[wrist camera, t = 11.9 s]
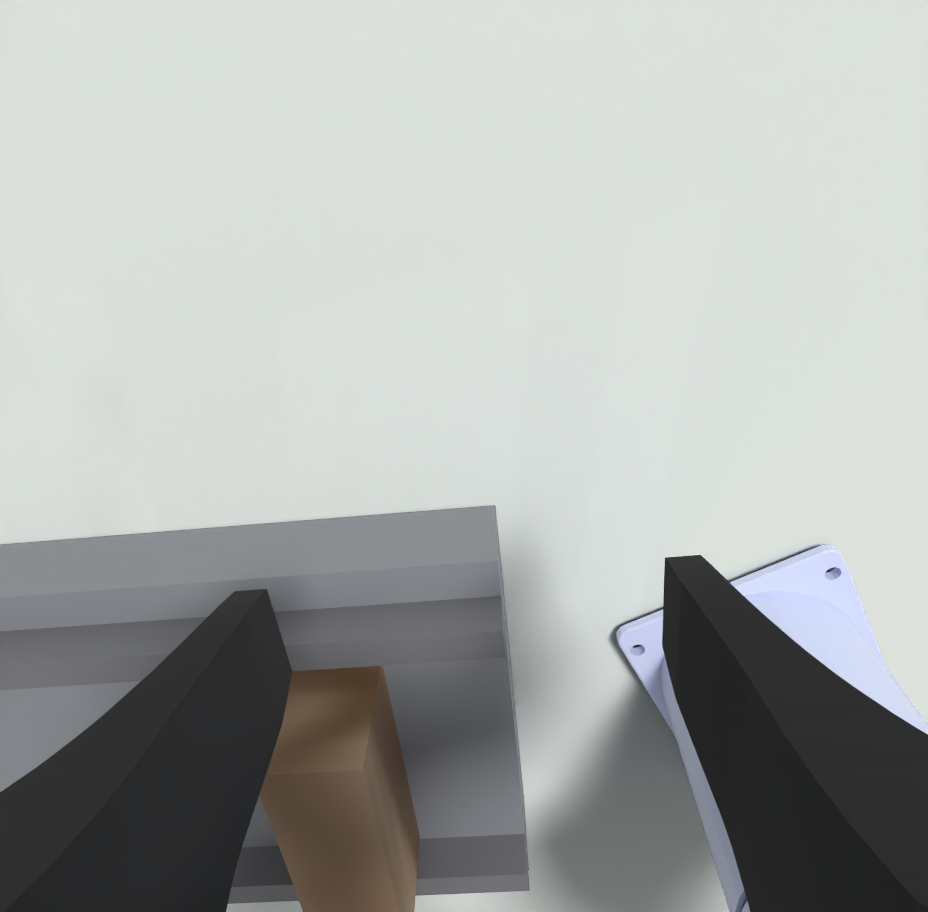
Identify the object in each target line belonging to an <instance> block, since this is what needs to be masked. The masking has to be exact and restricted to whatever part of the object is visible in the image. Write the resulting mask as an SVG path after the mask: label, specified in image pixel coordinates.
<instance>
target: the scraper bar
mask: <svg viewBox="0 0 928 912" xmlns="http://www.w3.org/2000/svg"><path fill="white" fill-rule="evenodd" d="M259 795H260V798H261V800H262V803H263V806H264V808H265V811H266V814H267V816H268V819H269V822H270V824H271V827H272V830H273V832H274V835H275V838H276V840H277V843H278V846H279V848H280V851H281V854H282V856H283V859H284V861H285V864H286V867H287V869H288V872H289V875H290V877H291V880H292V883H293V885H294V888H295V891H296V893H297V896H298V899H299V901H300V904H301V907H302V909H303V912H414V905H415V892H416V879H417V866H418V853H419V840H420V834H419V829H418V825H417V820H416V816H415V811H414V806H413V802H412V797H411V793H410V788H409V783H408V779H407V774H406V770H405V765H404V761H403V756H402V751H401V747H400V742H399V738H398V733H397V728H396V724H395V719H394V715H393V710H392V705H391V701H390V696H389V692H388V687H387V682H386V678H385V673H384V669H383V666H368V667H352V668H337V669H321V670H306V671H292V675H291V681H290V686H289V692H288V698H287V703H286V708H285V713H284V718H283V723H282V726H281V729H280V733H279V736H278V739H277V742H276V745H275V748H274V751H273V754H272V758H271V761H270V764H269V767H268V770H267V773H266V776H265V779H264V782H263V785H262V788H261V791H260V794H259Z"/></svg>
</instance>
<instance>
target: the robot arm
mask: <svg viewBox="0 0 928 912" xmlns="http://www.w3.org/2000/svg"><path fill="white" fill-rule="evenodd" d="M833 567H835V568H834V570H832V571H831V572H827V573H826V571H827V570H828V569H830V568H833ZM616 637H617V641H618V644H619V646H620V648H621V649H622V651H623V653H624V654H625V656H626V658H627V659H628V661H629V662H630V664H631V666H632V667H633V669H634V670H635V672H636V674H637V675H638V677H639V679H640V680H641V682H642V683H643V685H644V687H645V688H646V690H647V691H648V693H649V695H650V696H651V698H652V699H653V701H654V703H655V704H656V706H657V708H658V709H659V711H660V712H661V714H662V716H663V717H664V719H665V720H666V722H667V724H668V725H669V727H670V728H671V730H672V732H673V733H674V735H675V737H676V739H677V743H678V746H679V749H680V752H681V756H682V759H683V762H684V765H685V769H686V772H687V775H688V778H689V781H690V785H691V788H692V791H693V794H694V798H695V801H696V804H697V807H698V811H699V814H700V817H701V820H702V823H703V827H704V830H705V833H706V836H707V840H708V843H709V846H710V849H711V853H712V856H713V859H714V862H715V865H716V869H717V872H718V875H719V878H720V882H721V885H722V888H723V891H724V895H725V898H726V901H727V904H728V907H729V911H730V912H928V724H927V723H926V722H925V720H924V719H923V717H922V716H921V715H920V713H919V712H918V710H917V709H916V708H915V706H914V705H913V703H912V702H911V701H910V699H909V698H908V696H907V695H906V694H905V692H904V691H903V689H902V688H901V687H900V685H899V684H898V682H897V681H896V680H895V678H894V677H893V675H892V674H891V673H890V671H889V670H888V668H887V667H886V664H885V662H884V659H883V657H882V654H881V651H880V649H879V646H878V644H877V641H876V639H875V636H874V634H873V631H872V628H871V626H870V623H869V621H868V618H867V616H866V613H865V610H864V608H863V605H862V603H861V600H860V598H859V595H858V593H857V590H856V587H855V585H854V582H853V580H852V577H851V575H850V572H849V569H848V567H847V564H846V562H845V559H844V557H843V555H842V554H841V552H840V551H839V550H838V549H837V547H835V546H833V545H822V546H818V547H816V548H813V549H811V550H809V551H806V552H804V553H801V554H799V555H796V556H794V557H791V558H789V559H786V560H784V561H781V562H779V563H776V564H774V565H771V566H769V567H766V568H764V569H761V570H759V571H756V572H754V573H752V574H749V575H747V576H744V577H742V578H739V579H737V580H734V581H732V582H728V581H727V580H726V579H725V578H724V577H723V576H722V575H721V574H720V573H719V572H718V571H717V570H716V569H715V568H714V567H713V566H712V565H711V564H710V563H709V562H708V561H707V560H705V559H704V558H703V557H702V556H701V555H695V556H682V557H669V558H665V575H664V604H663V609H662V610H660V611H657V612H655V613H652V614H650V615H647V616H645V617H642V618H640V619H638V620H635V621H633V622H630V623H628V624H625V625H623V626H622V627H620V628H619V629H618V631H617V633H616ZM634 645H641V646H639V647H637V648H633V646H634ZM291 675H292V669H291V665H290V662H289V659H288V656H287V652H286V649H285V646H284V643H283V640H282V636H281V633H280V630H279V627H278V623H277V620H276V617H275V614H274V610H273V607H272V604H271V601H270V597H269V594H268V591H267V589H257V590H244V591H234V592H233V593H232V594H231V595H230V596H229V597H228V598H227V599H226V600H224V601H223V602H222V603H221V604H220V605H219V606H218V607H217V608H216V609H215V610H214V611H213V612H212V613H211V614H210V615H209V616H208V617H207V618H206V619H205V620H204V621H203V622H202V623H201V624H200V625H199V626H198V627H197V628H196V629H195V630H194V631H193V632H192V633H191V634H190V635H189V636H188V637H187V638H186V639H185V640H184V641H183V642H182V643H181V644H180V645H179V646H178V647H177V648H176V649H175V650H173V651H172V652H171V653H170V654H169V655H168V656H167V657H166V658H165V659H164V660H163V661H162V662H161V663H160V664H159V665H158V666H157V667H156V668H155V669H154V670H153V671H152V672H151V673H150V674H148V675H147V676H146V677H145V678H144V679H143V680H142V681H141V682H139V683H138V684H137V685H136V686H135V687H134V688H133V689H132V690H131V691H129V692H128V693H127V694H126V695H125V696H124V697H123V698H122V699H121V700H119V701H118V702H117V703H116V704H115V705H114V706H113V707H112V708H110V709H109V710H108V711H107V712H106V713H105V714H104V715H102V716H101V717H100V718H99V719H98V720H97V721H95V722H94V723H93V724H92V725H90V726H89V727H88V728H87V729H86V730H84V731H83V732H82V733H81V734H79V735H78V736H77V737H76V738H74V739H73V740H72V741H70V742H69V743H68V744H66V745H65V746H64V747H63V748H61V749H60V750H59V751H57V752H56V753H55V754H54V755H52V756H51V757H50V758H48V759H47V760H46V761H44V762H43V763H42V764H40V765H39V766H37V767H36V768H35V769H33V770H32V771H30V772H29V773H27V774H26V775H25V776H23V777H22V778H20V779H19V780H17V781H16V782H14V783H13V784H11V785H10V786H9V787H7V788H6V789H4V790H3V791H1V792H0V912H226V909H227V904H228V900H229V896H230V891H231V887H232V882H233V878H234V874H235V870H236V866H237V863H238V859H239V856H240V852H241V849H242V845H243V842H244V839H245V836H246V833H247V830H248V827H249V824H250V821H251V818H252V815H253V812H254V809H255V806H256V803H257V800H258V797H259V794H260V791H261V788H262V785H263V782H264V779H265V776H266V773H267V770H268V767H269V764H270V761H271V758H272V754H273V751H274V748H275V745H276V742H277V739H278V736H279V733H280V729H281V726H282V723H283V718H284V713H285V708H286V703H287V698H288V692H289V686H290V681H291Z"/></svg>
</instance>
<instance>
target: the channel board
mask: <svg viewBox="0 0 928 912" xmlns="http://www.w3.org/2000/svg"><path fill="white" fill-rule="evenodd" d="M257 589H267V591H268V594H269V597H270V601H271V604H272V607H273V610H274V614H275V617H276V620H277V623H278V627H279V630H280V633H281V636H282V640H283V643H284V646H285V649H286V652H287V656H288V659H289V662H290V665H291V669H292V671H306V670H321V669H337V668H352V667H368V666H383V669H384V673H385V678H386V682H387V687H388V692H389V696H390V701H391V705H392V710H393V715H394V719H395V724H396V728H397V733H398V738H399V742H400V747H401V751H402V756H403V761H404V765H405V770H406V774H407V779H408V783H409V788H410V793H411V797H412V802H413V806H414V811H415V816H416V820H417V825H418V829H419V834H420V840H419V853H418V866H417V879H416V892H415V895H438V894H461V893H484V892H507V891H529V877H528V870H529V867H528V852H527V837H526V822H525V807H524V794H523V784H522V774H521V764H520V753H519V743H518V733H517V723H516V712H515V702H514V692H513V682H512V671H511V661H510V651H509V641H508V630H507V620H506V610H505V600H504V589H503V579H502V569H501V559H500V548H499V538H498V528H497V518H496V507H495V505H494V506H481V507H469V508H456V509H444V510H431V511H418V512H406V513H393V514H381V515H368V516H355V517H343V518H330V519H318V520H305V521H293V522H280V523H267V524H255V525H242V526H230V527H217V528H204V529H192V530H179V531H167V532H154V533H141V534H129V535H116V536H104V537H91V538H78V539H66V540H53V541H41V542H28V543H15V544H3V545H0V792H1V791H3V790H4V789H6V788H7V787H9V786H10V785H11V784H13V783H14V782H16V781H17V780H19V779H20V778H22V777H23V776H25V775H26V774H27V773H29V772H30V771H32V770H33V769H35V768H36V767H37V766H39V765H40V764H42V763H43V762H44V761H46V760H47V759H48V758H50V757H51V756H52V755H54V754H55V753H56V752H57V751H59V750H60V749H61V748H63V747H64V746H65V745H66V744H68V743H69V742H70V741H72V740H73V739H74V738H76V737H77V736H78V735H79V734H81V733H82V732H83V731H84V730H86V729H87V728H88V727H89V726H90V725H92V724H93V723H94V722H95V721H97V720H98V719H99V718H100V717H101V716H102V715H104V714H105V713H106V712H107V711H108V710H109V709H110V708H112V707H113V706H114V705H115V704H116V703H117V702H118V701H119V700H121V699H122V698H123V697H124V696H125V695H126V694H127V693H128V692H129V691H131V690H132V689H133V688H134V687H135V686H136V685H137V684H138V683H139V682H141V681H142V680H143V679H144V678H145V677H146V676H147V675H148V674H150V673H151V672H152V671H153V670H154V669H155V668H156V667H157V666H158V665H159V664H160V663H161V662H162V661H163V660H164V659H165V658H166V657H167V656H168V655H169V654H170V653H171V652H172V651H173V650H175V649H176V648H177V647H178V646H179V645H180V644H181V643H182V642H183V641H184V640H185V639H186V638H187V637H188V636H189V635H190V634H191V633H192V632H193V631H194V630H195V629H196V628H197V627H198V626H199V625H200V624H201V623H202V622H203V621H204V620H205V619H206V618H207V617H208V616H209V615H210V614H211V613H212V612H213V611H214V610H215V609H216V608H217V607H218V606H219V605H220V604H221V603H222V602H223V601H224V600H226V599H227V598H228V597H229V596H230V595H231V594H232V593H233V592H234V591H244V590H257ZM298 900H299V899H298V896H297V893H296V891H295V888H294V885H293V883H292V880H291V877H290V875H289V872H288V869H287V867H286V864H285V861H284V859H283V856H282V854H281V851H280V848H279V846H278V843H277V840H276V838H275V835H274V832H273V830H272V827H271V824H270V822H269V819H268V816H267V814H266V811H265V808H264V806H263V803H262V800H261V798H260V795H259V797H258V800H257V803H256V806H255V809H254V812H253V815H252V818H251V821H250V824H249V827H248V830H247V833H246V836H245V839H244V842H243V845H242V849H241V852H240V856H239V859H238V863H237V866H236V870H235V874H234V878H233V882H232V887H231V891H230V896H229V900H228V904H229V903H252V902H275V901H298Z"/></svg>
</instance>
